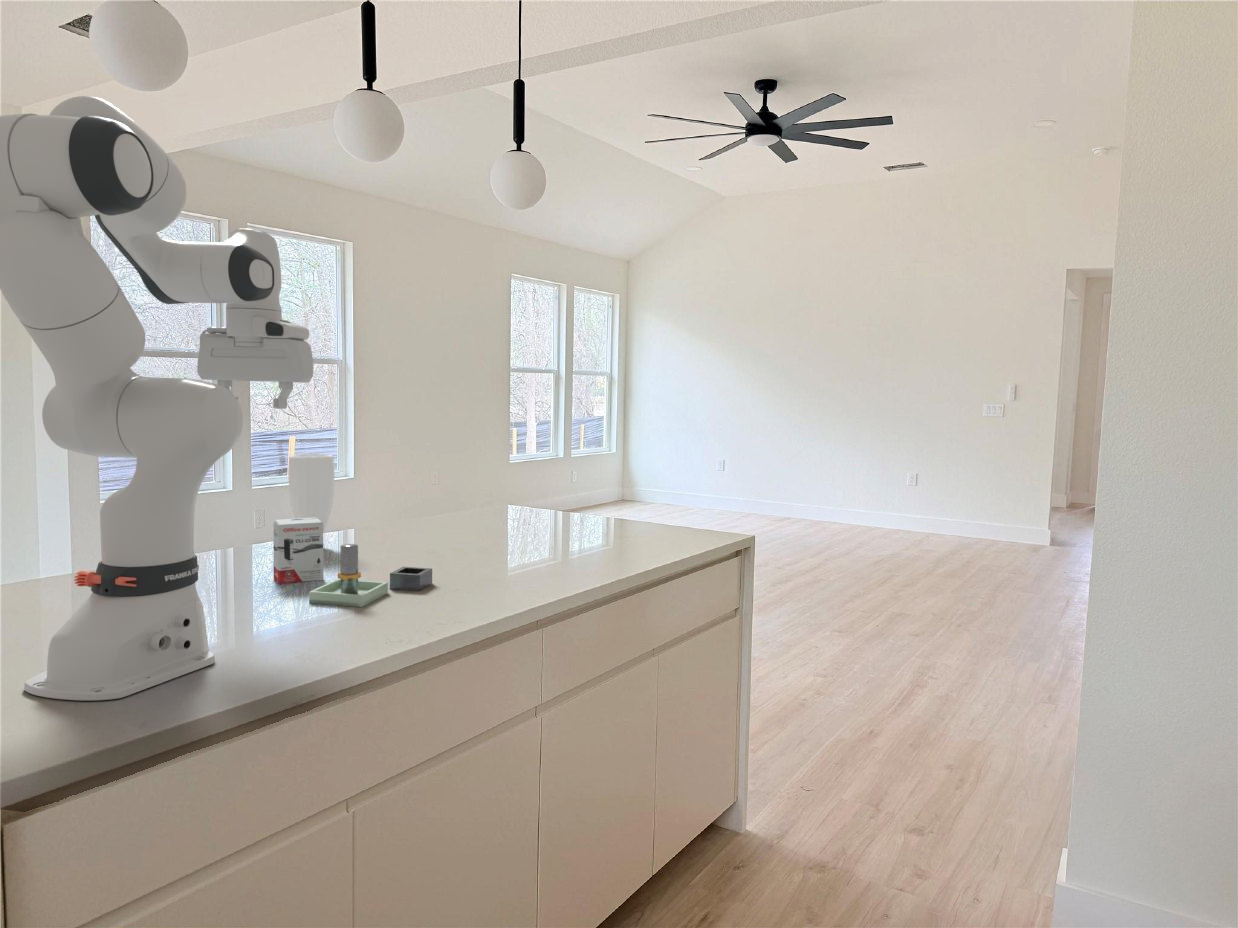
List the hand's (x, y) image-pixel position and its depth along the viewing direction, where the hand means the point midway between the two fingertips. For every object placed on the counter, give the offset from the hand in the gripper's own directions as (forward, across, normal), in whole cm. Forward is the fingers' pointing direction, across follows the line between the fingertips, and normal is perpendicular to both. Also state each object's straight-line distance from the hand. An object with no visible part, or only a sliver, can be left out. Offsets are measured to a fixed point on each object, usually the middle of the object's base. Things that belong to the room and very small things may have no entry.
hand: (255, 407), depth 143 cm
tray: (+34, +15, +5) cm, 37 cm away
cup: (+34, -15, +44) cm, 58 cm away
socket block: (+34, +22, +16) cm, 43 cm away
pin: (+33, +15, +5) cm, 37 cm away
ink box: (+34, -1, +15) cm, 37 cm away
